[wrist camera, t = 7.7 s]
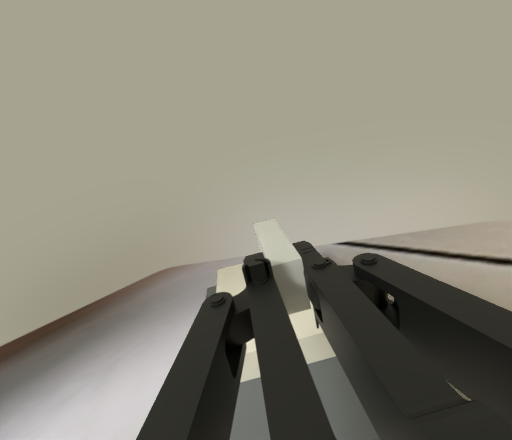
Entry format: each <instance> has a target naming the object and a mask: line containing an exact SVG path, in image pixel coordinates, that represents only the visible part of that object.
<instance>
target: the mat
mask: <svg viewBox="0 0 512 440" xmlns="http://www.w3.org/2000/svg"><path fill="white" fill-rule="evenodd" d="M327 258H328V257H327ZM328 259H329V258H328ZM216 287H217V286H214V287H210V288H208V289H207V296H206V299H207V298H208V297H209V296H211V295H213V294H215V293H216ZM307 365H308V368H309V370H310V373H311V375H312V378H313V381H314V383H315V386H316V388H317V391H318V394H319V396H320V399H321V402H322V404H323V407H324V409H325V412H326V415H327V417H328V420H329V423H330V425H331V428H332V430H333V433H334V435H335V437H336V439H337V440H380V438H379V436H378V435H377V433H376V431H375V429H374V427H373V425H372V423H371V421H370V419H369V418H368V416H367V414H366V412H365V410H364V408H363V406H362V404H361V402H360V400H359V399H358V397H357V395H356V393H355V391H354V389H353V387H352V385H351V383H350V381H349V380H348V378H347V376H346V374H345V372H344V370H343V368H342V366H341V364H340V362H339V361H338V359H337V357H336V356H335V357H332V358H328V359H324V360H321V361H317V362H313V363H310V364H307ZM230 440H270V434H269V427H268V421H267V415H266V408H265V402H264V396H263V389H262V383H261V377H259V378H255V379H251V380H248V381H244V382H241V383H240V386H239V392H238V397H237V402H236V408H235V413H234V419H233V424H232V429H231V435H230Z"/></svg>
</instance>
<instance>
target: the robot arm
mask: <svg viewBox="0 0 512 440" xmlns="http://www.w3.org/2000/svg"><path fill="white" fill-rule="evenodd" d="M254 228H255V232H256V236H257V240H258V245H259V249H260V253H257V254H253V255H249V256H246V257H245V259H244V261H243V262H244V264H243V266H242V272H243V275H244V279H245V283H246V288H245V289H244V290H243V291H242V292H240V293H239V294H237V295H235V296H232V295H231V294H230V293H228V292H219V293H215V294H213V295H211V296H209V297H208V298H207V299H206V300H205V301H204V302H203V304H202V306H201V308H200V310H199V312H198V314H197V316H196V318H195V320H194V322H193V324H192V326H191V328H190V330H189V333H188V335H187V337H186V339H185V341H184V343H183V345H182V347H181V349H180V351H179V353H178V355H177V357H176V359H175V361H174V363H173V365H172V367H171V369H170V371H169V373H168V375H167V377H166V379H165V381H164V384H163V386H162V388H161V390H160V392H159V394H158V396H157V398H156V400H155V402H154V404H153V406H152V408H151V410H150V412H149V414H148V416H147V418H146V420H145V422H144V424H143V426H142V428H141V430H140V432H139V435H138V437H137V439H136V440H230V435H231V429H232V424H233V419H234V413H235V408H236V402H237V397H238V392H239V386H240V381H241V375H242V370H243V365H244V359H245V354H246V349H247V347H246V343H247V342H248V341H250V340H252V339H255V345H256V351H257V358H258V364H259V370H260V377H261V383H262V389H263V396H264V402H265V408H266V415H267V421H268V427H269V434H270V440H337V439H336V437H335V435H334V433H333V430H332V428H331V425H330V423H329V420H328V417H327V415H326V412H325V409H324V407H323V404H322V402H321V399H320V396H319V394H318V391H317V388H316V386H315V383H314V381H313V378H312V375H311V373H310V370H309V368H308V365H307V362H306V360H305V357H304V354H303V352H302V349H301V347H300V344H299V341H298V339H297V336H296V333H295V331H294V328H293V326H292V323H291V320H290V318H289V314H293V313H297V312H300V311H304V310H308V309H311V305H310V301H311V303H312V305H313V310H314V315H315V321H316V326H317V329H318V328H319V325H320V326H321V328H322V330H323V332H324V334H325V336H326V338H327V340H328V342H329V344H330V345H331V347H332V349H333V351H334V353H335V355H336V357H337V359H338V361H339V362H340V364H341V366H342V368H343V370H344V372H345V374H346V376H347V378H348V380H349V381H350V383H351V385H352V387H353V389H354V391H355V393H356V395H357V397H358V399H359V400H360V402H361V404H362V406H363V408H364V410H365V412H366V414H367V416H368V418H369V419H370V421H371V423H372V425H373V427H374V429H375V431H376V433H377V435H378V436H379V438H380V440H512V312H511V311H509V310H507V309H504V308H502V307H500V306H497V305H495V304H493V303H490V302H488V301H486V300H483V299H481V298H479V297H476V296H474V295H472V294H469V293H467V292H465V291H462V290H460V289H458V288H455V287H453V286H451V285H448V284H446V283H444V282H441V281H439V280H437V279H434V278H432V277H430V276H427V275H425V274H423V273H420V272H418V271H416V270H413V269H411V268H409V267H406V266H404V265H402V264H399V263H397V262H395V261H392V260H390V259H388V258H385V257H383V256H381V255H378V254H372V253H364V254H360V255H357V256H356V257H354V259H353V265H346V266H337V264H336V263H335V262H334V261H332V260H331V259H328V258H323V257H322V256H321V255H320V254H319V253H318V252H317V250H316V249H315V248H314V247H313V246H312V245H311V244H310V243H309V242H306V241H301V242H297V243H293V244H292V243H291V242H290V240H289V239H288V237H287V236H286V235H285V233H284V232H283V230H282V229H281V227H280V226H279V224H278V223H277V221H276V220H275V219H270V220H267V221H263V222H258V223H255V224H254ZM388 294H390V295H391V296H393V297H394V302H393V301H391V300H390V299H388ZM447 381H448V382H449V383H450V384H451V385H453V386H454V387H455V388H457V389H458V390H459V391H461V392H462V393H463V394H464V395H466V396H467V397H468V398H470V399H471V400H472V401H467V400H465V399H464V398H462V397H461V396H460V395H459V394H458V393H457V392H456V391H455V390H454V389H453V388H452V387H451V386H450V385H449V384H448V383H447Z"/></svg>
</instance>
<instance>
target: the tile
mask: <svg viewBox="0 0 512 440" xmlns="http://www.w3.org/2000/svg"><path fill="white" fill-rule="evenodd" d="M243 264H244V263H241V264H238V265H234V266H230V267H226V268H222V269H218V273H217V287H216V293H219V292H228V293H230V294H231V295H232V296H235V295H237V294H239V293H240V292H242V291H243V290H244V289H245V288H246V283H245V279H244V275H243V272H242V266H243ZM310 305H311V309H308V310H304V311H300V312H297V313H293V314H289V318H290V320H291V323H292V326H293V328H294V331H295V333H296V336H297V339H298V341H299V344H300V347H301V349H302V352H303V354H304V357H305V360H306V362H307V364H310V363H313V362H317V361H321V360H324V359H328V358H332V357H335V356H336V355H335V353H334V351H333V349H332V347H331V345H330V344H329V342H328V340H327V338H326V336H325V334H324V332H323V330H322V328H321V326H320V325H319V328H318V329H317V326H316V321H315V315H314V310H313V305H312V303H311V301H310ZM246 347H247V349H246V354H245V359H244V365H243V370H242V375H241V381H240V383H241V382H244V381H248V380H251V379H255V378H259V377H260V370H259V364H258V358H257V351H256V345H255V339H252V340H250V341H248V342H247V343H246Z"/></svg>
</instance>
